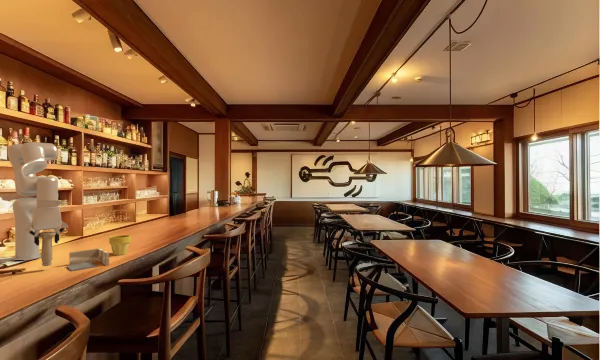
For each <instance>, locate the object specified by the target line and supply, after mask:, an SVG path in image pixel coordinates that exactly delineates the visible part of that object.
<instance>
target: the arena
mask: <svg viewBox="0 0 600 360" xmlns="http://www.w3.org/2000/svg"><path fill="white" fill-rule="evenodd" d="M68 255H69V259H68V260H69V261H68V262H69V265H75V264H81V263H87V262H93V263H94V262H100V263H101V264H103V265H105V266H106V267H107V266H110V252H109V251H107V250H105V249H102V248H100V247H99V248H92V249H85V250H78V251H71V252H69V254H68ZM69 265H68V266H69Z"/></svg>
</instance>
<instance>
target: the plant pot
mask: <svg viewBox="0 0 600 360" xmlns="http://www.w3.org/2000/svg"><path fill="white" fill-rule="evenodd" d="M108 239H109V240H108V242H109V244H110V247H111V251H112V255H113V256H124V255H126V254H128V251H129V247H130V246H129V245H130V243H131V241H132V235H131V234H118V235H112V236H109V237H108Z"/></svg>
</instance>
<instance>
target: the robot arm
mask: <svg viewBox="0 0 600 360" xmlns="http://www.w3.org/2000/svg"><path fill="white" fill-rule="evenodd" d="M58 155H59V151H58V148H57V146H56V145H55V144H53V143H48V142H36V141H35V142H33V141H31V142H30V141H27V142H24V143H16V144H12V145H10V146H8V148H7V157H8V161H9V162H10V165H11V166H12V168H13V171H14V187H15V188H14V189H15V192H16V194H17V195H19V196H20V197H21V196H23V197H24V196H25V197H24V198H23V197H22V198H18V199H16V200H14V201H13V203H12V211H13V216H14V217H13V218H14V233H15V235H14V236H15V237H14V243H15V244H14V247H15V248H14V251H15V252H14V253H15V254H14V256H12V257H10V261H12V260H24V261H30V260H36V259H40V258H41V253H40V237H39V236H38V234H39V233H41V231H44V230H46V231H47V230H54V232H56V235H55V236H54V243H55V244H58V243H59V241H60V234H61V233H63V232H64V230H66V229H67V228H68V227H69V225H68V224H67V223H66V222H65V221H63V220H62V212H61V208H60V206H59V205H62V203H63V202H62V200H59V199H58V198H59V181H58V178H57V177H55V176H37V174H36V173H39V172H42V171H44V170H45V169H47V167H48V162H50V161H54V160H56V159H57V157H58ZM33 196H34V197H33ZM35 196H36V197H35Z"/></svg>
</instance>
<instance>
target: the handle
mask: <svg viewBox="0 0 600 360" xmlns="http://www.w3.org/2000/svg"><path fill="white" fill-rule="evenodd" d="M55 235H56V232H55V231H40V232H39V234H38V236H39V238H41V257H40V258H41V266H42V267H50V266H52V261H53V243H52V241H53V239H52V238H53V237H55Z"/></svg>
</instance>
